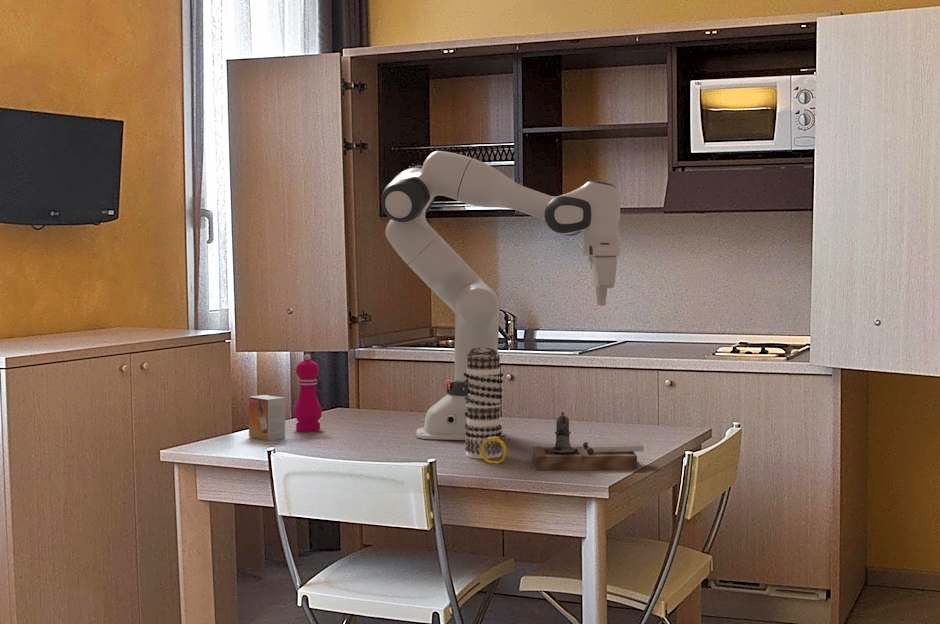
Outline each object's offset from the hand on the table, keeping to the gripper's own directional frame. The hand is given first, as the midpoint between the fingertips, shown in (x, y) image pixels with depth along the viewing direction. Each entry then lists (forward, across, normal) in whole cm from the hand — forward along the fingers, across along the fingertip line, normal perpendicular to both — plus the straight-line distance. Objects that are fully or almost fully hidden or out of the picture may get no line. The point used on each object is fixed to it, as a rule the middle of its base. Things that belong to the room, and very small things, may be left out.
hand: (601, 305), depth 293 cm
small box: (+34, -12, -83) cm, 91 cm away
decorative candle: (+34, +13, -29) cm, 47 cm away
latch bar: (+31, +25, 0) cm, 40 cm away
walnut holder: (+34, +25, -7) cm, 43 cm away
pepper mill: (+34, -24, -74) cm, 85 cm away
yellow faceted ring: (+34, +22, -27) cm, 49 cm away
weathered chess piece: (+34, +26, -12) cm, 45 cm away
